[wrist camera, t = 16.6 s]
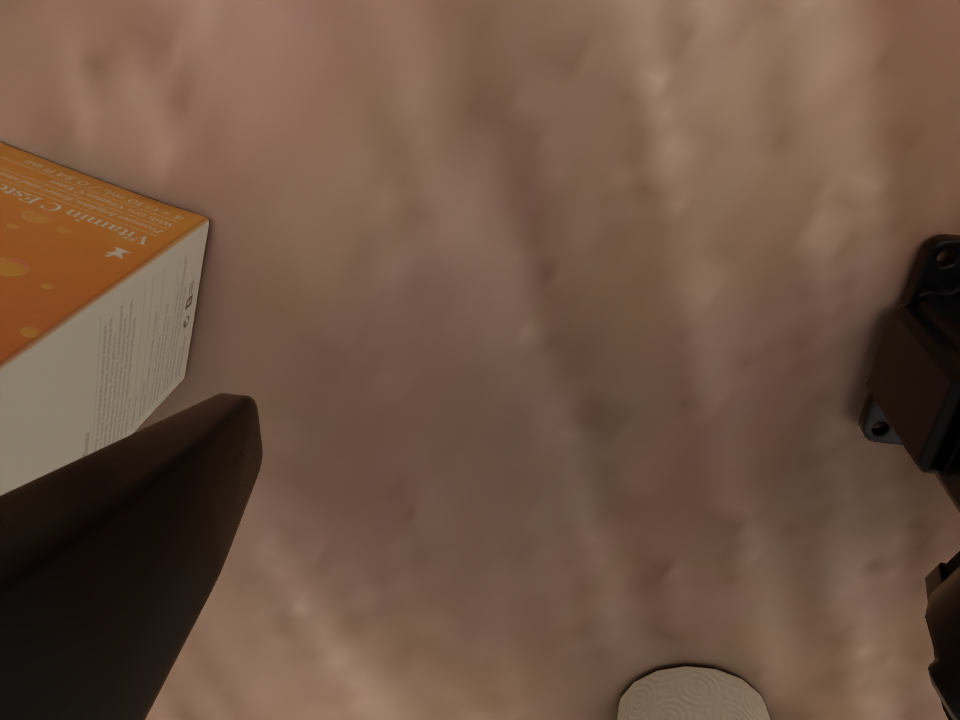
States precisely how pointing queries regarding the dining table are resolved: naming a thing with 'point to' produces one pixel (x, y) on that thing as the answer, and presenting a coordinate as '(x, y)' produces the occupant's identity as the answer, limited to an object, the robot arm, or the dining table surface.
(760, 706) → the paper towel roll
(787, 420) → the dining table surface
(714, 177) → the dining table surface
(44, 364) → the small box
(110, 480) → the robot arm
